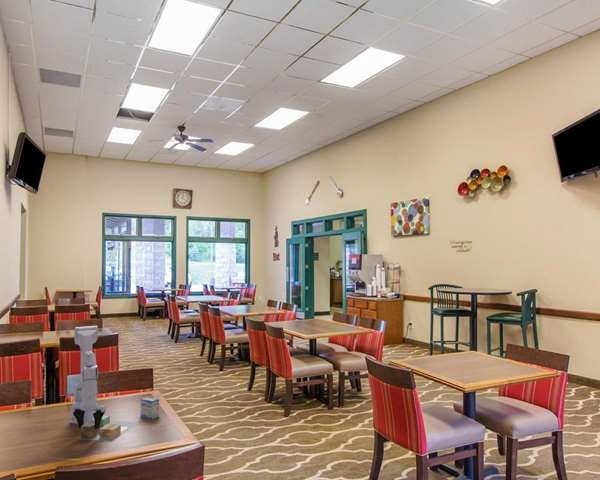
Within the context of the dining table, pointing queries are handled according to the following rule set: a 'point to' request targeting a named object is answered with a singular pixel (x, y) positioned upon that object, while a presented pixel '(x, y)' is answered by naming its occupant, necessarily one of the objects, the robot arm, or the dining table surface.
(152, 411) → the medicine box
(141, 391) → the dining table surface
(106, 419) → the sage-green block
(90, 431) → the walnut block
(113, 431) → the oak base block
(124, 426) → the blueprint board
